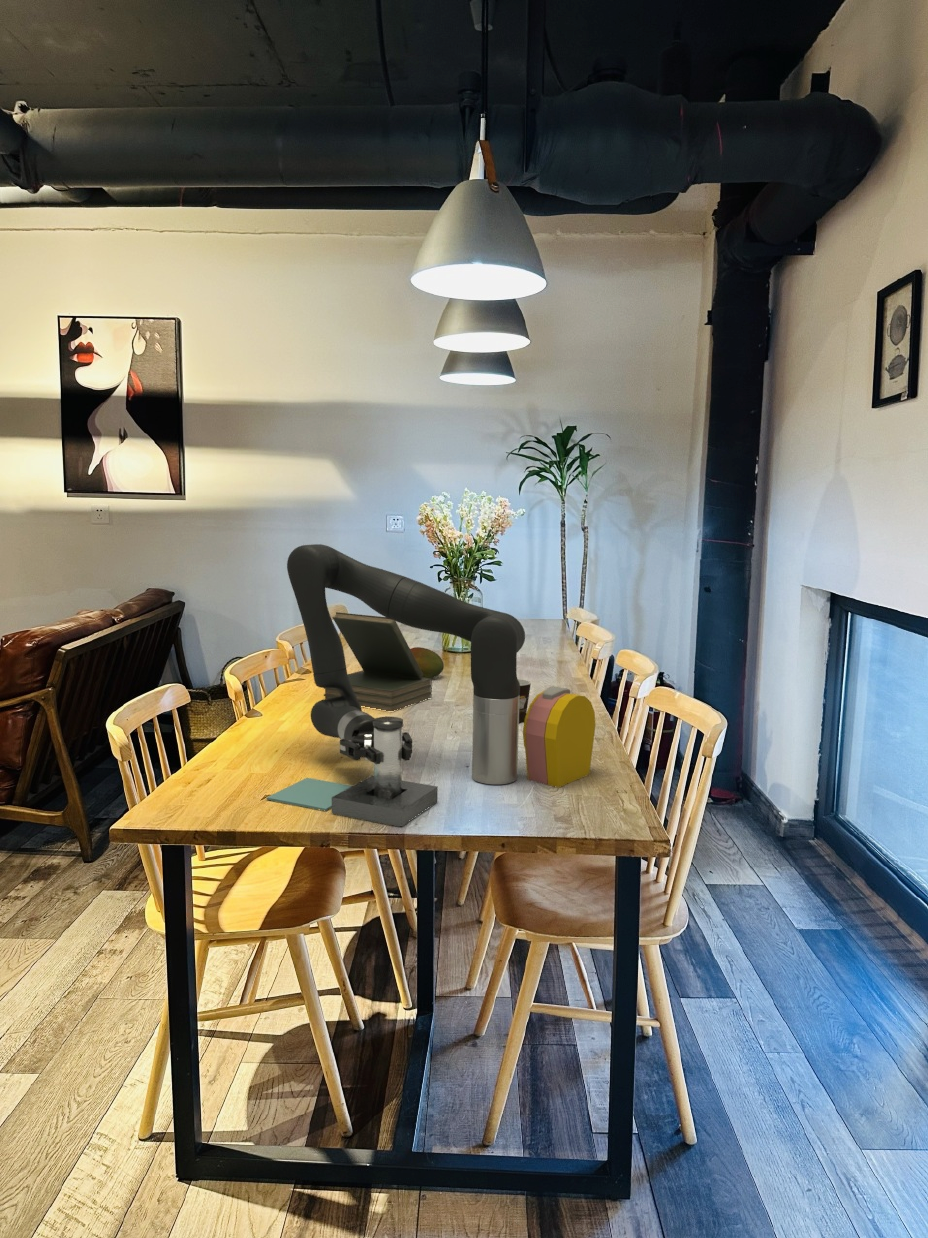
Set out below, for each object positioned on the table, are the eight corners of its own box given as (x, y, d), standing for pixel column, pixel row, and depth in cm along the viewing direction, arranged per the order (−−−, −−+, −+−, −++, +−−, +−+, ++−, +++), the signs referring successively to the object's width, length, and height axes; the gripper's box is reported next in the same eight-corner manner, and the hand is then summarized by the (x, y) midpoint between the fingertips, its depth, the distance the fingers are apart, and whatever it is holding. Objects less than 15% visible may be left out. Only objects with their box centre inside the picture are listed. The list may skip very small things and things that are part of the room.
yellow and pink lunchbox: (560, 764, 184) (563, 680, 182) (593, 772, 179) (597, 685, 176) (519, 780, 173) (522, 691, 170) (553, 789, 167) (557, 697, 165)
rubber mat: (307, 780, 170) (307, 777, 170) (363, 790, 165) (363, 787, 165) (266, 800, 159) (266, 797, 159) (325, 811, 153) (325, 808, 153)
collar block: (371, 790, 165) (371, 775, 165) (437, 802, 159) (437, 786, 159) (331, 813, 152) (331, 797, 152) (401, 827, 147) (401, 810, 146)
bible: (431, 700, 243) (433, 612, 240) (391, 714, 226) (392, 619, 223) (366, 690, 255) (366, 606, 251) (323, 702, 238) (323, 612, 235)
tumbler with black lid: (382, 794, 159) (382, 715, 157) (407, 798, 157) (408, 718, 155) (367, 803, 154) (367, 722, 152) (393, 808, 152) (393, 725, 150)
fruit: (398, 676, 274) (398, 645, 273) (434, 673, 279) (434, 643, 278) (411, 683, 264) (411, 651, 262) (448, 680, 269) (449, 649, 268)
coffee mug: (527, 716, 225) (528, 678, 224) (531, 724, 217) (532, 685, 215) (483, 715, 225) (484, 678, 223) (485, 724, 216) (486, 685, 215)
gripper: (326, 717, 164) (354, 740, 149) (396, 711, 170) (430, 732, 155) (326, 756, 165) (354, 782, 150) (396, 747, 171) (430, 772, 156)
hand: (393, 756), depth 152 cm, fingers closed on tumbler with black lid, 5 cm apart
